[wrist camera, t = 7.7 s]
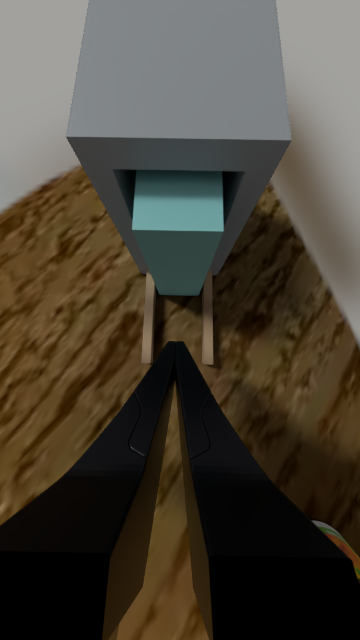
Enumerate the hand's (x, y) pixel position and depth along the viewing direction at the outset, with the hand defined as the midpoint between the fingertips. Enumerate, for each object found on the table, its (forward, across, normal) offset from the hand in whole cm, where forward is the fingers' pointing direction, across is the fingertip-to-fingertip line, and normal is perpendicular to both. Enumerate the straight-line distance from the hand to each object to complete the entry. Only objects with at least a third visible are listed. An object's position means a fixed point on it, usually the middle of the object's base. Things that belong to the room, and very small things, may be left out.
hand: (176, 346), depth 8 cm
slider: (+11, 0, -2) cm, 11 cm away
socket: (+13, 0, -4) cm, 14 cm away
